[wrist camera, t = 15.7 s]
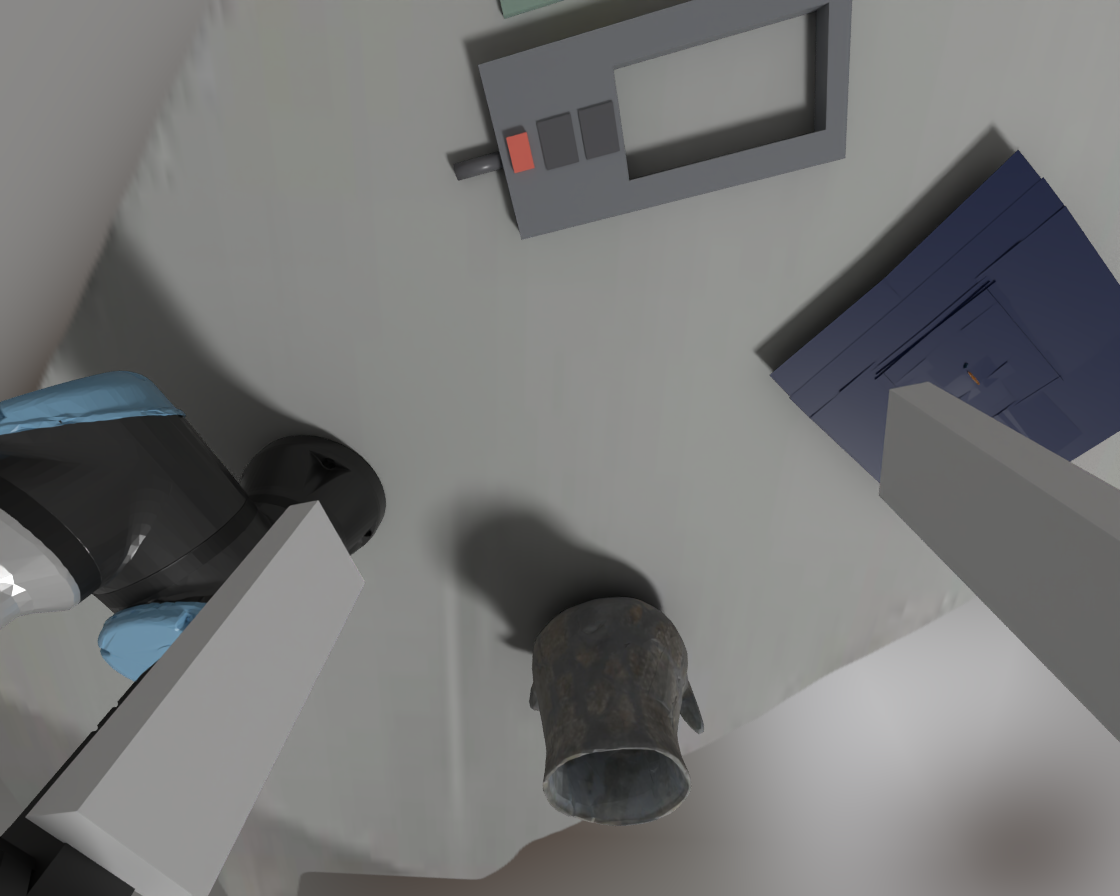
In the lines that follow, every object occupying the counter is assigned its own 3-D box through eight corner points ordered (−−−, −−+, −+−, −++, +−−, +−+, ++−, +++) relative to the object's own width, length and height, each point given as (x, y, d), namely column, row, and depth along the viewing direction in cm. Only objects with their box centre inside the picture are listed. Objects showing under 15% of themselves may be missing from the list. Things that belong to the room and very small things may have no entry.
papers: (927, 528, 57) (948, 548, 54) (757, 368, 49) (770, 380, 46) (1157, 377, 48) (1199, 390, 44) (995, 149, 40) (1031, 145, 36)
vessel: (487, 615, 66) (458, 774, 48) (632, 549, 60) (659, 703, 42) (572, 701, 74) (573, 862, 57) (706, 651, 68) (753, 813, 51)
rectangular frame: (479, 248, 43) (474, 251, 41) (432, 85, 37) (423, 79, 35) (833, 159, 39) (849, 157, 37) (839, -37, 34) (859, -53, 32)
